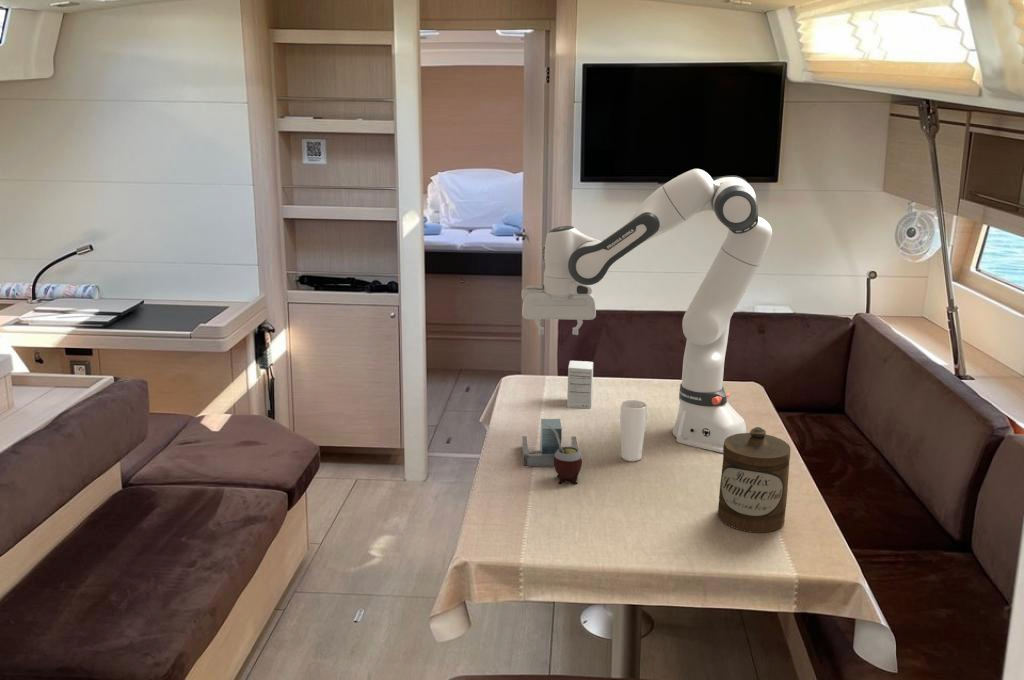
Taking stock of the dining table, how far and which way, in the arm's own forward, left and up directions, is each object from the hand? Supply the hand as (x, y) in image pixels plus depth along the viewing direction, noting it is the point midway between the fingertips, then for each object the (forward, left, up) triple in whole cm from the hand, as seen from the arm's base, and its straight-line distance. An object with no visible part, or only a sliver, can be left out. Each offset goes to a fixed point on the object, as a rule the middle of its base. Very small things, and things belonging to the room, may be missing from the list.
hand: (558, 334), depth 264 cm
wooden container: (-69, +11, -27) cm, 75 cm away
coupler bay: (-13, +17, -27) cm, 35 cm away
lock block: (-13, +17, -27) cm, 35 cm away
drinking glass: (-29, +3, -27) cm, 40 cm away
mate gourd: (-26, +26, -27) cm, 46 cm away
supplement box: (+7, -19, -27) cm, 34 cm away
